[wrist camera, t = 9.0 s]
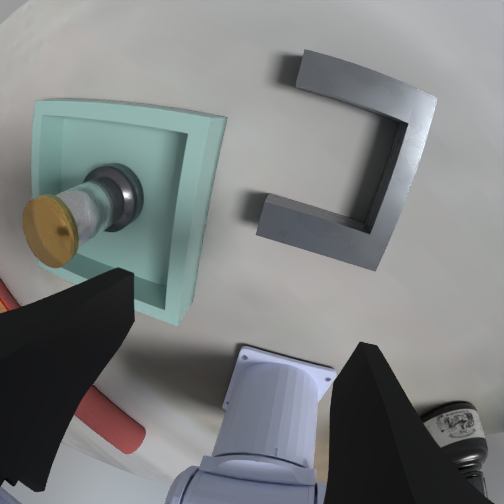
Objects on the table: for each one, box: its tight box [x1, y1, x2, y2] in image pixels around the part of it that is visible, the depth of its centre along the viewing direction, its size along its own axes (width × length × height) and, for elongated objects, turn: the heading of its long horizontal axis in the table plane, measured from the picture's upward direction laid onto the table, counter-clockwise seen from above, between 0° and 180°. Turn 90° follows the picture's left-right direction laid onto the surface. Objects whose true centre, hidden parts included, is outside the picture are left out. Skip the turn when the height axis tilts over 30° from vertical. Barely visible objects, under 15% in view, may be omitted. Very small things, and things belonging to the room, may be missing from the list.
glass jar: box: [23, 163, 144, 268], centre depth 16 cm, size 4×4×7 cm
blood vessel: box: [0, 280, 146, 454], centre depth 28 cm, size 42×5×5 cm, turn 40°
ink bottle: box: [420, 403, 488, 499], centre depth 19 cm, size 10×9×12 cm
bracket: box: [256, 49, 437, 271], centre depth 15 cm, size 10×7×2 cm
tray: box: [31, 98, 228, 326], centre depth 18 cm, size 13×13×3 cm
